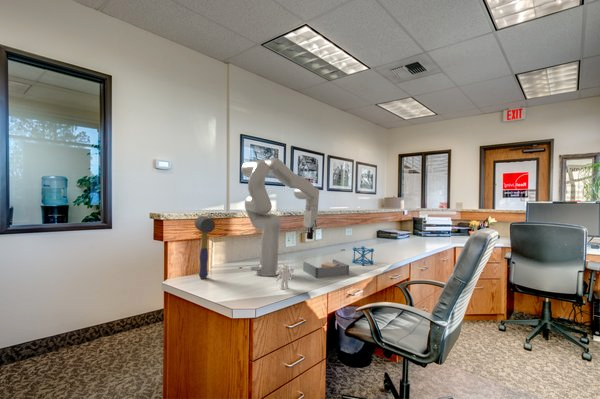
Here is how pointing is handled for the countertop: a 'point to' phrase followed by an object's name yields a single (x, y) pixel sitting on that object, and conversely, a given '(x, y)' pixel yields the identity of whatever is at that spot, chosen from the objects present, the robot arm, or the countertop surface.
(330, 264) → the terracotta tile
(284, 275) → the flower shoulder figurine
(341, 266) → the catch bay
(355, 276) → the countertop surface
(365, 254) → the molecular structure
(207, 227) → the rubber mallet
